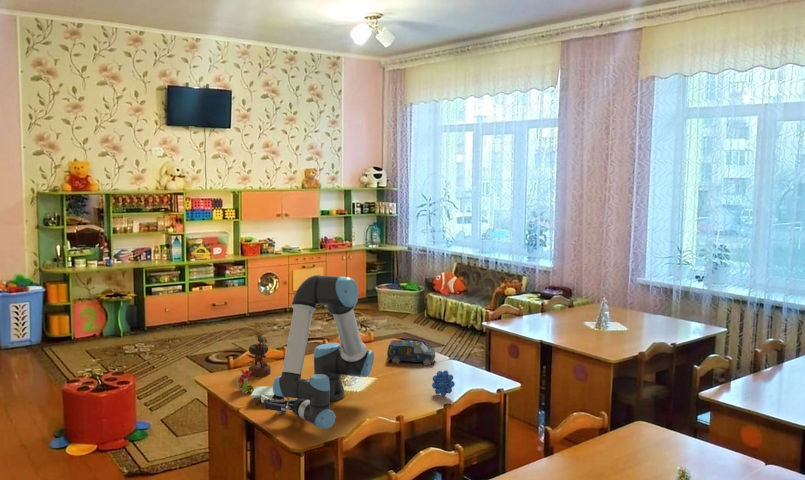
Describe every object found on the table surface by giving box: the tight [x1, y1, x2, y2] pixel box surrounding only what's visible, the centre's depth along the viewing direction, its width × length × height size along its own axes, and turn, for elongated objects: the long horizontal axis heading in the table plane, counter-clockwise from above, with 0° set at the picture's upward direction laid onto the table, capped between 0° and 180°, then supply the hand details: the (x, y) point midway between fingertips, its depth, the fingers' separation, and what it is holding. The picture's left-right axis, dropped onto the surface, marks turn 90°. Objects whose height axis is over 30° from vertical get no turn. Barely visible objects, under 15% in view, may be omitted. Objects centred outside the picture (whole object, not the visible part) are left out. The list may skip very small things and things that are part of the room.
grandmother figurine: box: [271, 394, 290, 416], centre depth 272 cm, size 8×4×13 cm, turn 132°
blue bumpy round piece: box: [431, 370, 456, 397], centre depth 294 cm, size 12×7×12 cm, turn 54°
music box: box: [246, 333, 271, 378], centre depth 321 cm, size 15×11×20 cm
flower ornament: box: [236, 368, 255, 395], centre depth 296 cm, size 6×11×9 cm
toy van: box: [386, 339, 436, 366], centre depth 345 cm, size 11×25×10 cm, turn 80°
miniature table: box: [250, 385, 277, 406], centre depth 286 cm, size 11×11×4 cm
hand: (276, 394), depth 273 cm, fingers open, 13 cm apart
